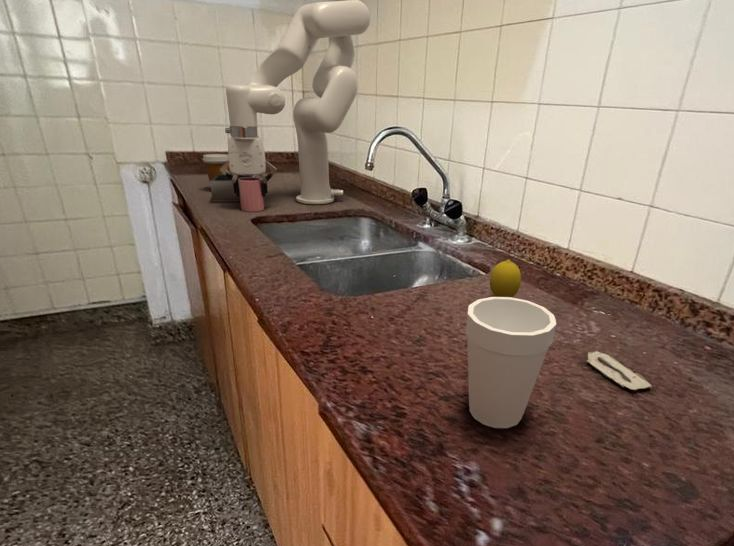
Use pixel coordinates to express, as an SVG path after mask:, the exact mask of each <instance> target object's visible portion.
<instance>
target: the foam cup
mask: <svg viewBox="0 0 734 546" xmlns="http://www.w3.org/2000/svg"><path fill="white" fill-rule="evenodd" d="M465 323H466V324H465V334H466V341H467V347H466V348H467V379H468V380H467V381H468V407H469V413H470V414H471V416H472V417H473V419H475V420H476V421H477V422H479V423H480V424H481V425H484V426H487V427H491V428H493V429H509V428H512V427H515V426H517V425H518V424H519V423H520V421H521V420H522V419H523V416H524V415H525V411H526V409H527V406H528V404H529V401H530V398H531V396H532V393H533V390H534V387H535V386H536V382H537V380H538V377H539V374H540V371H541V369H542V367H543V364H544V361H545V358H546V356H547V353H548V350H549V348H550V347H551V346H552V344H553V342H554V337H555V333H556V328H557V320H556V317H555V314H554V313H552V312H551V311H550V310H548V309H547V308H546V307H544V306H542V305H540V304H537V303H536V302H533V301H530V300H526V299H521V298H516V297H496V296H490V297H489V296H488V297H485V298H480V299H476V300H475V301H473V302H472V303H470V304H468V307H467V315H466V322H465Z"/></svg>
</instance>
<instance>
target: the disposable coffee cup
mask: <svg viewBox="0 0 734 546" xmlns="http://www.w3.org/2000/svg"><path fill="white" fill-rule="evenodd" d="M202 157H203V158H202V159H201V160H202V161H203V163H204V166H205V170H206V173H207V177H208V181H209V182H210V180H212V179H213V178H214V177H215V176H216V175H217V174H223V173H222V172H221V171H220V168H221V167H222V166H223V165H224V164H225V163H226V162H228V161H229V156H228V153H227V154H226V153H206V154H203V156H202ZM227 171H228V172H229V173H231V172H230V168H229V167H228V168H227ZM231 174H232V173H231Z"/></svg>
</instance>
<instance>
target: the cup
mask: <svg viewBox="0 0 734 546" xmlns="http://www.w3.org/2000/svg"><path fill="white" fill-rule="evenodd" d="M261 183H262V180H261V178H260V177H258V176H256V177H243V178H239V179H238V187H239V196H240V203H239V204H240V210H241V211H243V212H252V213H253V212H261V211H264V210H265V199H264V197H263V196H262V186H261Z"/></svg>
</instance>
